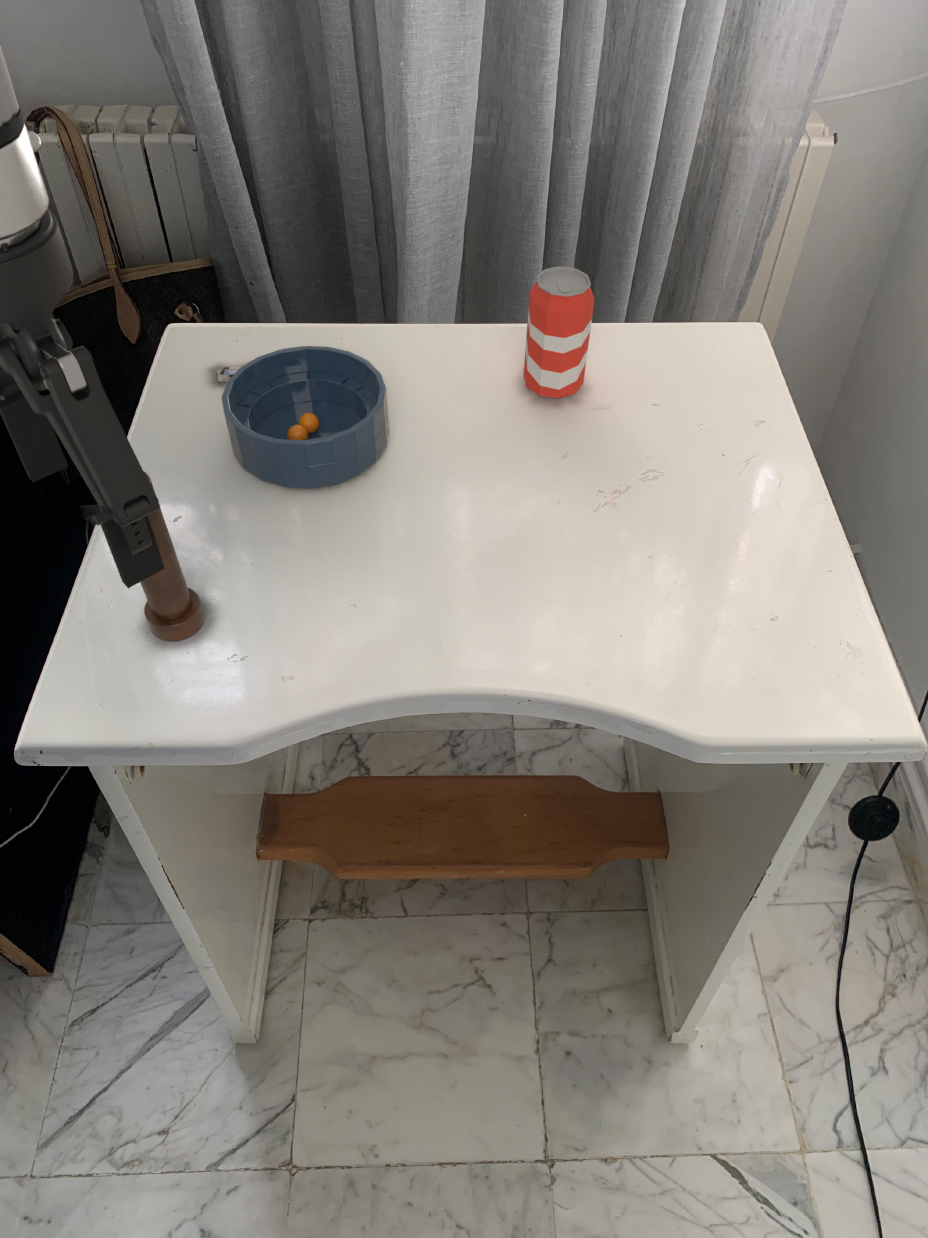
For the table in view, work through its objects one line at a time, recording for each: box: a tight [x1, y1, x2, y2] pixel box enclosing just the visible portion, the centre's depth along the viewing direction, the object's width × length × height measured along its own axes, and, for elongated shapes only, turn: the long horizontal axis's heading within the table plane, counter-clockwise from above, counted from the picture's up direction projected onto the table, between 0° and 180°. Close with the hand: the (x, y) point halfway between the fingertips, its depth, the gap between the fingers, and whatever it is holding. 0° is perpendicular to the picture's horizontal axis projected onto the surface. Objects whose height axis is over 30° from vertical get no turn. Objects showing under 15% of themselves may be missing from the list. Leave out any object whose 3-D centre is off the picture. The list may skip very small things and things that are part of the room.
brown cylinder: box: [139, 470, 206, 643], centre depth 68 cm, size 4×4×15 cm
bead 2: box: [299, 413, 319, 434], centre depth 87 cm, size 2×2×2 cm
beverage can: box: [523, 265, 595, 400], centre depth 90 cm, size 6×6×12 cm
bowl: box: [221, 345, 390, 489], centre depth 86 cm, size 15×15×6 cm
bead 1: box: [287, 425, 308, 440], centre depth 86 cm, size 2×2×2 cm
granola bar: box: [216, 364, 245, 383], centre depth 95 cm, size 7×2×1 cm, turn 102°
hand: (94, 521), depth 62 cm, fingers open, 13 cm apart
